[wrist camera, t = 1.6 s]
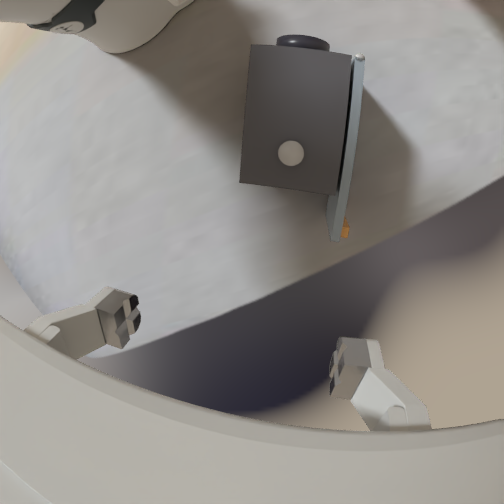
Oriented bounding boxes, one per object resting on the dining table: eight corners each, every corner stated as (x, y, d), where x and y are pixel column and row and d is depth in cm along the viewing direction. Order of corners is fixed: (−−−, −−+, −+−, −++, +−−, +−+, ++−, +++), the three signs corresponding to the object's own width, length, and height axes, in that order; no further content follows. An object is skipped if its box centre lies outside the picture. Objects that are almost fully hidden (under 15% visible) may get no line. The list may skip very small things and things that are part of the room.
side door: (343, 69, 24) (355, 52, 17) (358, 72, 24) (374, 56, 17) (325, 214, 31) (330, 240, 24) (339, 217, 31) (348, 243, 24)
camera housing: (266, 51, 25) (251, 26, 17) (341, 59, 24) (353, 36, 16) (255, 169, 31) (237, 184, 23) (328, 179, 30) (336, 197, 22)
